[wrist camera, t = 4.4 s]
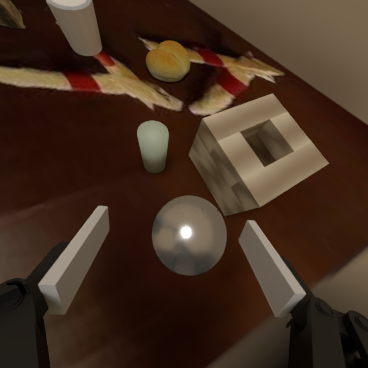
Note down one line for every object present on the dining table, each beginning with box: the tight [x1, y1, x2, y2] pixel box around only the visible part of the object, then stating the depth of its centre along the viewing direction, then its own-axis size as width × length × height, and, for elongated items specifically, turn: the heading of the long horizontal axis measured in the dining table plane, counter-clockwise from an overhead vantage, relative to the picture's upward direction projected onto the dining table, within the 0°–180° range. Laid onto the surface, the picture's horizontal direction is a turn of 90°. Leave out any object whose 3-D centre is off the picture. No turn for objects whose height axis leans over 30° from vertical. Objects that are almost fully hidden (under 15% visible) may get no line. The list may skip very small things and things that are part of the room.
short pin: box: [137, 121, 169, 173], centre depth 22 cm, size 4×4×8 cm
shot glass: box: [46, 0, 102, 56], centre depth 28 cm, size 7×7×7 cm
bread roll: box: [146, 41, 190, 82], centre depth 31 cm, size 8×9×4 cm
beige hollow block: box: [189, 94, 329, 216], centre depth 23 cm, size 12×12×9 cm
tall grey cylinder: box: [152, 196, 227, 275], centre depth 15 cm, size 4×4×16 cm
